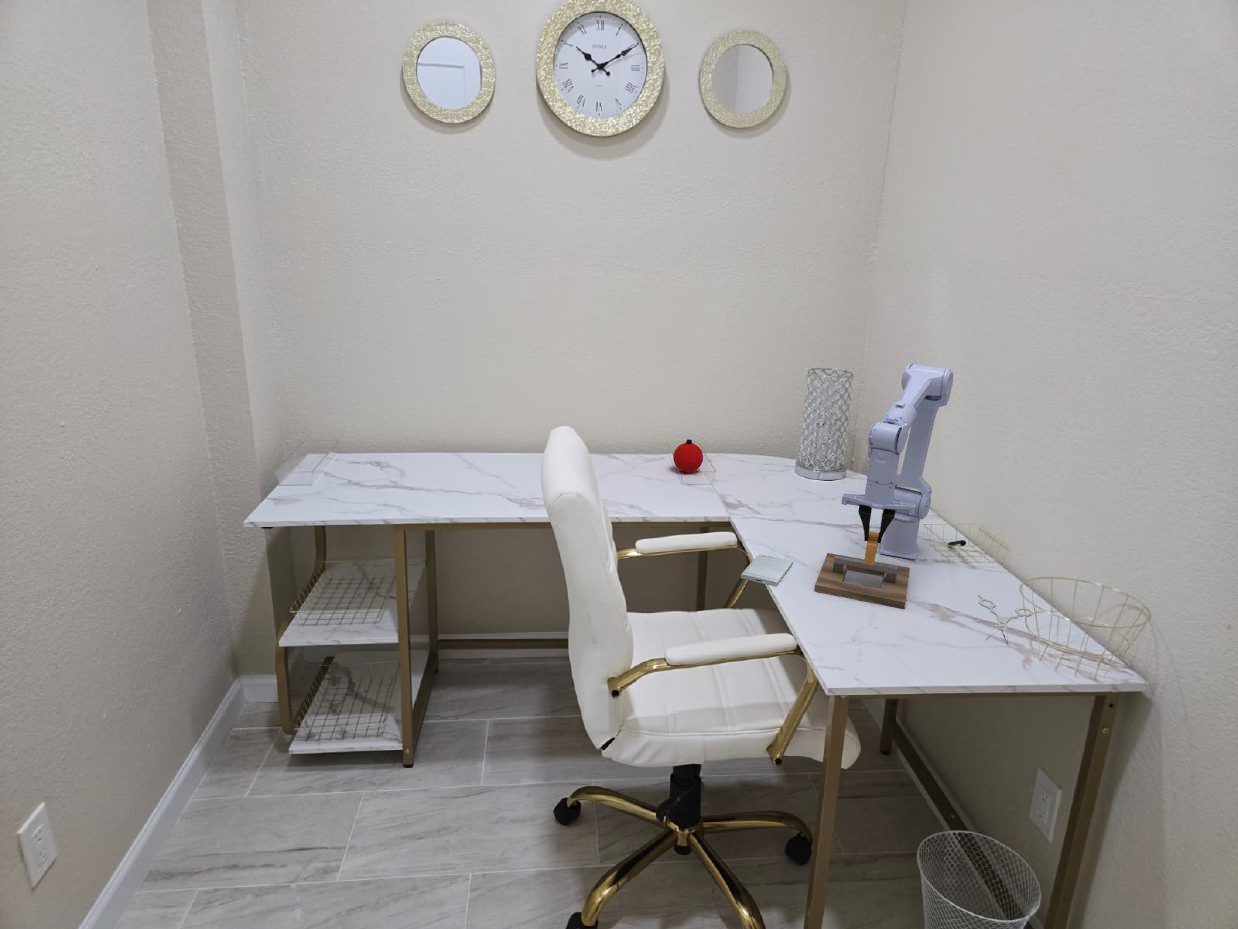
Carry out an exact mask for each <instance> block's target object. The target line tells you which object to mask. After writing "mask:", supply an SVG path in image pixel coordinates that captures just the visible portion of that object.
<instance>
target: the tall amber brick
mask: <svg viewBox="0 0 1238 929" xmlns="http://www.w3.org/2000/svg"><path fill="white" fill-rule="evenodd" d="M879 532H880V531H879ZM879 532H878V531H873V530H869V537H868V541H866V548H865V553H864V554H865V555H864V559H865V560H864V564H869V565H874V562H875V561H876V555H877V553H878V552H877V551H878V545H879V543H878V542H877V541H878V536H879Z"/></svg>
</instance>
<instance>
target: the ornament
mask: <svg viewBox="0 0 1238 929" xmlns="http://www.w3.org/2000/svg"><path fill="white" fill-rule="evenodd" d="M672 459H673V463H674V465H675V467H676V468H677V469H678V470H679V471H681V472H684V473H693V472H695V471H697V470H698V469H699V468H700V467H701V466H702V465H703V462H704V454H703V451H702V449H701V447H699V445H697V444H695V443H694V442H693V440H692V439H690V438H689V439H686V440H685V442H683V443H681V444H679V445H678V446H677V447H676V448H675V450H674V451H673V458H672Z"/></svg>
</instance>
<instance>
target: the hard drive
mask: <svg viewBox="0 0 1238 929" xmlns="http://www.w3.org/2000/svg"><path fill="white" fill-rule="evenodd" d="M792 565H794V561H793V560H790V559H786V558H780V557H777V556H772V555H766V554H762V553H758V554H757V556H755V558H754V559H753V560H752V561H751V563H750V564H749V565H748V566H747V567H746V568H745V569H744V570H743V572H742V573H741V574H740V579H743V580H748V581H752V582H756V583H759V584H764V585H769V586H772V587H778V586H779V585H780V584H781V583H782V581H783V580H784V578H785V577H786V576H787V575H788V573H789V572H790V570H791V569H792V567H793V566H792ZM790 568H791V569H790ZM788 571H789V572H788ZM787 572H788V573H787ZM785 575H786V576H785ZM784 576H785V577H784ZM782 579H783V580H782ZM764 582H765V583H764ZM779 583H780V584H779Z"/></svg>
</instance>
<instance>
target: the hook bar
mask: <svg viewBox="0 0 1238 929" xmlns="http://www.w3.org/2000/svg"><path fill="white" fill-rule="evenodd" d="M844 565H848V566H853V567H859V568H864V569H870V570H875V571H881V572H886V573H887V574H886V581H885V582H888V583H894V584H895V582H896V576H897V569H898V567H895V566H889V565H884V564H878V563H874V565H869V564H864V561H862V560H856V559H850V558H845V557H839V556H835V558H834V564H833V572H835V573H841V574H842V572H843V567H844Z"/></svg>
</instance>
